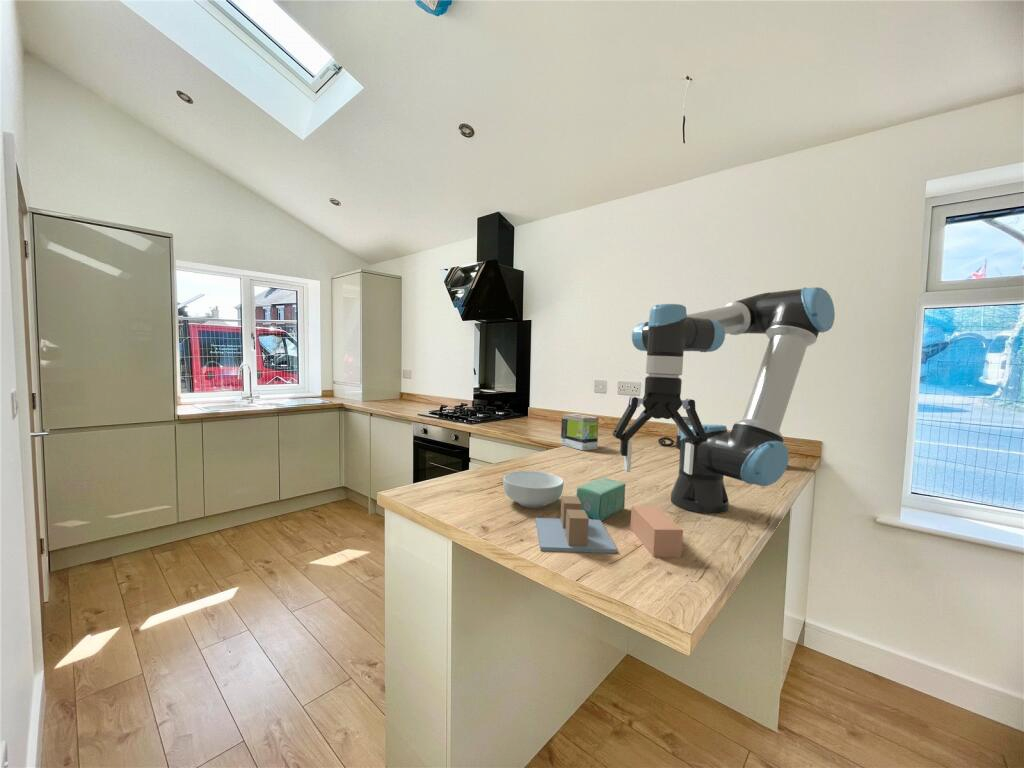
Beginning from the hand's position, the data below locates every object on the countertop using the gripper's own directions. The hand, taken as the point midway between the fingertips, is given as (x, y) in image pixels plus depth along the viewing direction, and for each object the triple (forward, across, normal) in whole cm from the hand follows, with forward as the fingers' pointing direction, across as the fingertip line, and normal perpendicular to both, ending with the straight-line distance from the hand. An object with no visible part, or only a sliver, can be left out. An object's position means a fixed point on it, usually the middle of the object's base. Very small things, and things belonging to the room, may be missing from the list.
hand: (657, 471), depth 93 cm
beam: (+16, 0, 0) cm, 16 cm away
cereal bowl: (+16, +26, -23) cm, 38 cm away
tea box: (+16, 0, -101) cm, 102 cm away
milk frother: (+15, -49, -108) cm, 120 cm away
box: (+16, +8, -18) cm, 26 cm away
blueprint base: (+16, +18, -2) cm, 24 cm away
